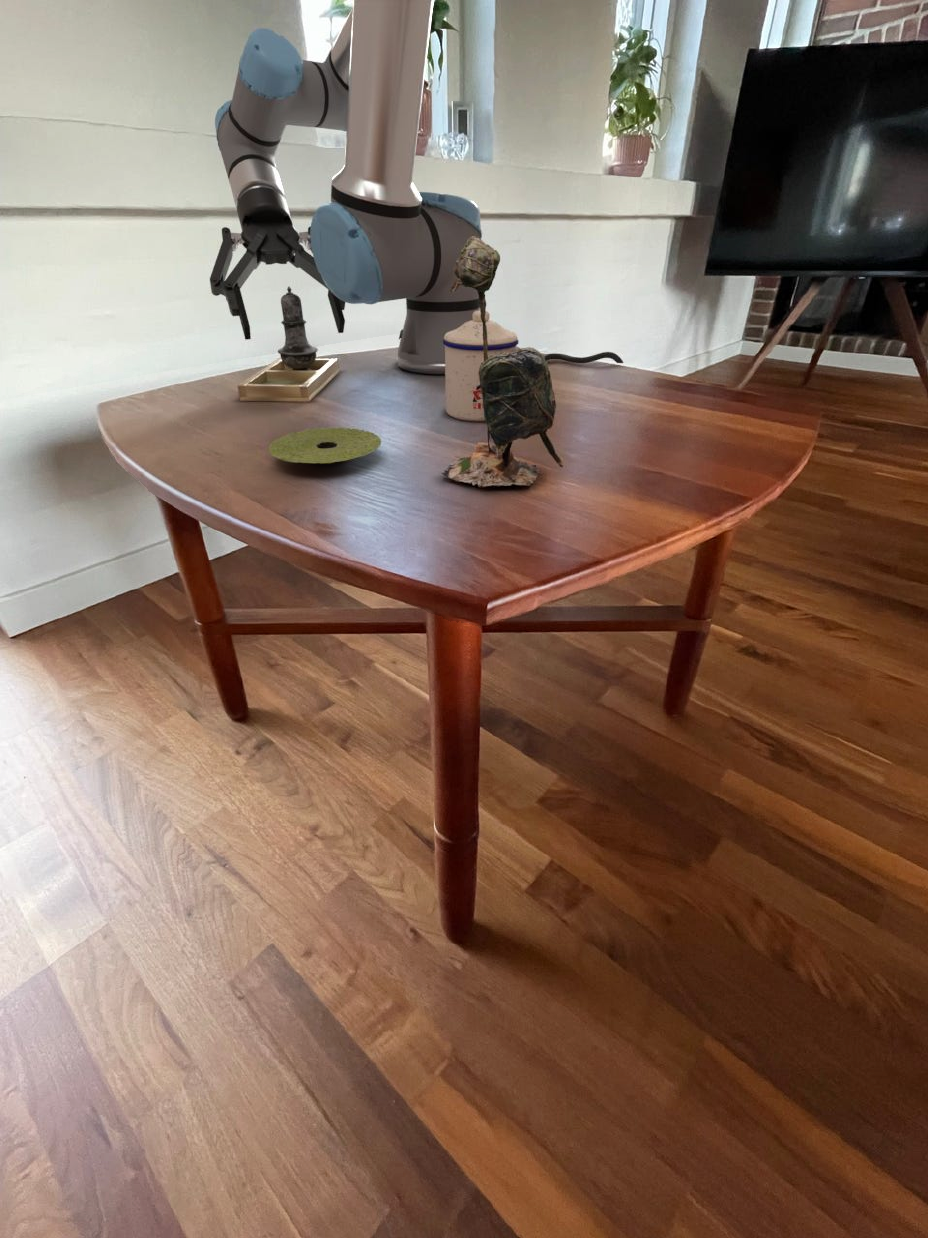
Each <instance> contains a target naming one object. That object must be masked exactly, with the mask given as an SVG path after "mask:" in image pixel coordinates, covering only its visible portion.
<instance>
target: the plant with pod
mask: <svg viewBox="0 0 928 1238" xmlns="http://www.w3.org/2000/svg"><path fill="white" fill-rule="evenodd" d="M500 262H501V254H500V253H499V251H498V250H497V249H495V248H493V247H492V246H491V245H490V244H487V243H485V241H484V240H482V239H481V240H480V239H479V237H477V236H472V237H471V238H469V239H468V240H467V243H466V244H465V245H464V248H463V250H462V252H461V256H460V258H458V260H457V261H456V267H454V269H455V274H456V280H455V282H454V285H453V286H452V287H451V289H450V291H451V292H455V291H456V290H457V288H458V286H460V285H464V286H465V287H471V288H474V289H476V290H477V291H478V295H479V306H480V312H481V320H482V323H483V353H484V362H483V363H481V366H480V368H479V373H478V374H479V380H480V385H481V391H482V398H483V409H484V418H485V421H484V423H486V425H487V432H486V433H487V442H481V441H478V442H477V443H476V445H475V451H474V452H472V454H471V455H469V456H462V457H460V456H455V455H454V457H456V459H455V460H454V461H453V463H452V464H449V465H448V467H447V468H446V469H443V472H441V475H442V476H443V477H446V478H448V479H451V480H454V481H455V482H463V483H468V484H472V486H475V485H477V486H478V488H485V487H505V486H508V487H509V486H514V485H515V486H531V484H534V483H535V482H534V481H536V479H537V478H538V475H540V470H539V467H538V466H537V465H536V464H534V465H531V464H529V463H528V462H526V461H518V460H516V459H515V456H514V453H513V451H511V449H512V445H513V443H514V442H515V441H517V440H520V439H521V440H527V439H529V438H530V437H533V436H537V435H539V437H540V439H541V441H542V444H543V445H544V446H545V448H546V450H547V453H549V455H550V456H551V457H552V458H553V460H554V462H555V463H556V464H557V465H558V466H559V467H560V468H563V467H564V466H565V463H564V459H563V458H562V457H561V456H560V455H559V454H558V453H557V452H556V450H555V447H554V445H553V443H552V441H551V440H550V437H549V436H548V434H547V432H548V430H549V429H551V428H552V427H553V426H554V421H555V414H556V409H557V403H556V396H555V394H556V393H555V392H554V389H553V380H552V378H551V377H552V376H551V371H550V368H549V364H548V362H547V361H545V357H544V355H545V354H544V353H541V352H540V351H539V350H538V349H536V348H535V347H529V346H528V347H520V349H516V350H510V351H508V352H501V353H499V354H497V355H495V356H492V355H491V356H490V357H489V358H488V354H487V350H488V348H487V347H488V341H487V327H486V320H485V313H486V311H487V309H486V308H487V301H486V292H487V291H488V292H489V290H490V289H491V287H492V285H493V281H494V280H495V278H496V273H497V270H498V268H499V267H498V266H499V264H500ZM490 439H491V440H492V442H493V444H492V443H490Z"/></svg>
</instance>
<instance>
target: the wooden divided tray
mask: <svg viewBox="0 0 928 1238" xmlns="http://www.w3.org/2000/svg"><path fill="white" fill-rule="evenodd" d="M308 369H313V370H315V371H301V370H293V369H292V368H289V367H287V366H286V365H285V364H284V363H283V361H282V359H281V357H279V358H276V359H275V360H273V361H272V362H271V363H269V364H268V365H267V366H265V367H263V368H262V369H260V370H259V371H257V372H255V373H254V374H252V375H251V376H250V377H248V378H247V379H245V380H243V381H242V382H241V383H239V384H237V391H238V396H239V400H240V401H241V402H291V403H292V402H294V403H295V402H296V403H297V402H298V403H299V402H300V403H310V402H311V400H312V399H314V397H315V396H317V395H318V393H320V392H321V391H322V390H323V389H324V388H325V387H326V386H327V385H328V384H329V383H330V382H331V381H332V380H333V379H334V378H335V377H336V376H337V375H338V374H339V373H340V367H339V358H316V360H315V363H314V364H313V365H312V366H311V367H309V368H308Z"/></svg>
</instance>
